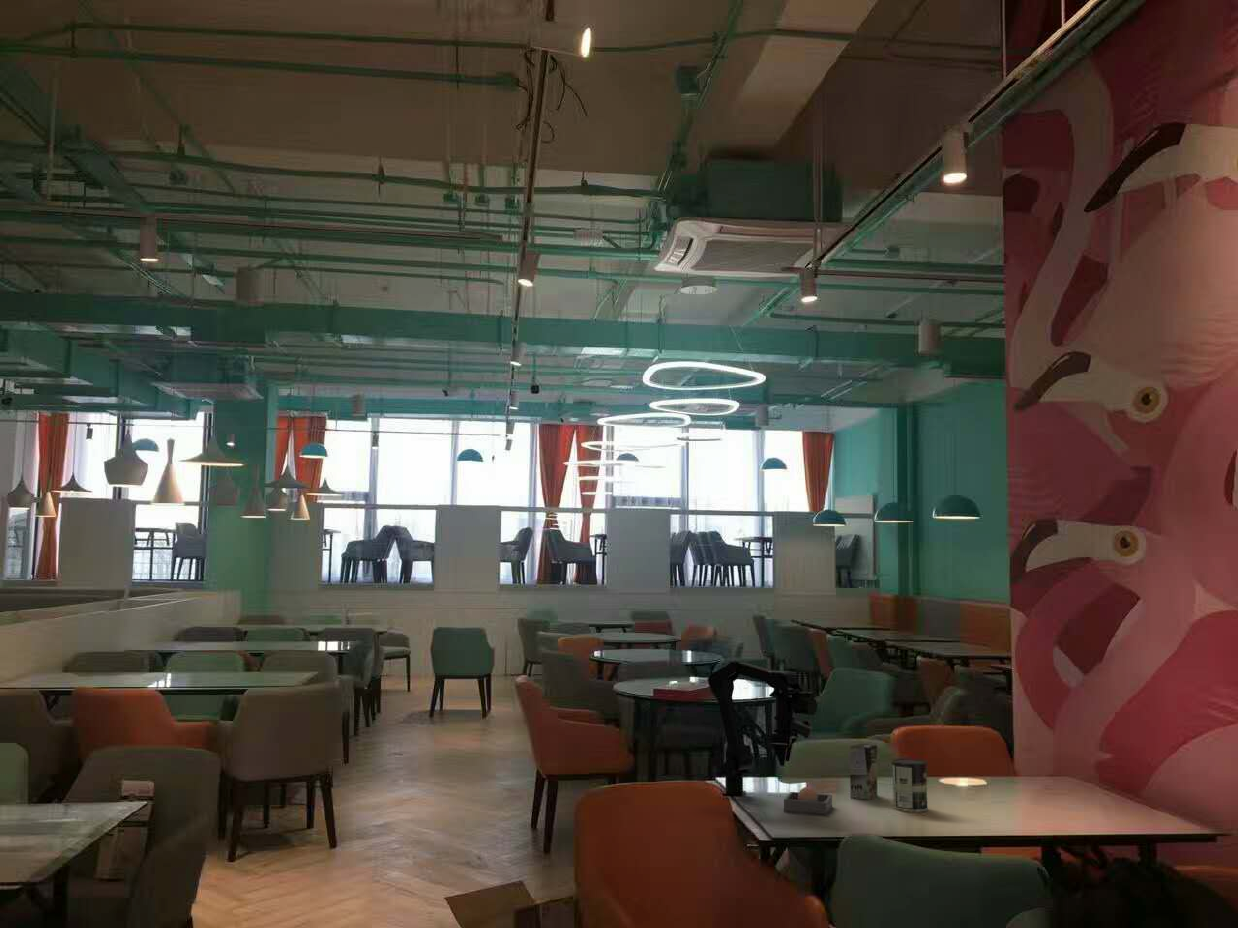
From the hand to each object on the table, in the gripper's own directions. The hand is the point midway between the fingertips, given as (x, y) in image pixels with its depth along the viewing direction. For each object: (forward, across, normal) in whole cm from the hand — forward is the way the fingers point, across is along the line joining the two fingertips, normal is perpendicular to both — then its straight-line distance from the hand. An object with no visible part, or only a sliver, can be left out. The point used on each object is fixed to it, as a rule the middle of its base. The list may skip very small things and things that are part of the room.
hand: (785, 763), depth 315 cm
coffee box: (+12, +20, -22) cm, 32 cm away
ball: (+8, -6, -8) cm, 13 cm away
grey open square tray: (+12, -6, -8) cm, 16 cm away
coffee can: (+12, +7, -37) cm, 40 cm away
